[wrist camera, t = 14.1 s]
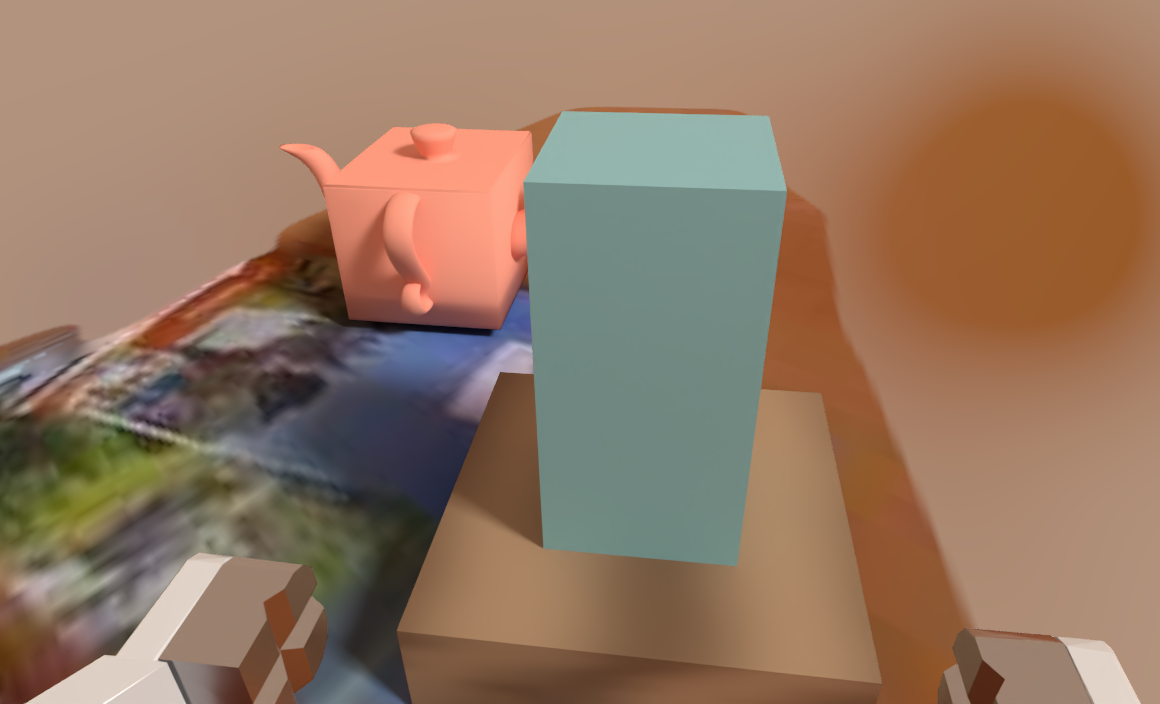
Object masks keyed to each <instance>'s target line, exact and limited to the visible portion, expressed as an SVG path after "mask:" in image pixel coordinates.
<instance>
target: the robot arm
mask: <svg viewBox="0 0 1160 704" xmlns="http://www.w3.org/2000/svg"><path fill="white" fill-rule="evenodd" d="M316 586H317V581H316V579H315V576H314V573H313V570H312V567H311V566H305V565H299V564H291V563H283V562H275V561H267V560H259V559H251V558H243V557H235V556H234V557H233V556H224V555H215V554H206V553H198V554H196V555H195V556H193V557H192V558H190V559H189V560H187V561H186V562H185V564H184V565H183V566H182V568H181V569H180V570H179V572H178V573H177V574H176V576H175V577H174V578H173V580H172V581H171V582H170V584H169V585H168V586H167V588H166V589H165V590H164V592H163V593H162V594H161V596H160V597H159V598H158V600H157V601H156V602H155V604H154V605H153V606H152V608H151V609H150V611H149V612H148V613H147V615H146V616H145V617H144V619H143V620H142V621H141V623H140V624H139V625H138V627H137V628H136V629H135V631H134V632H133V633H132V635H131V636H130V637H129V639H128V640H127V641H126V643H125V644H124V645H123V647H122V648H121V649H120V651H119V652H118V653H117V655H116V656H112V655H104V656H102V657H101V658H99V659H97V660H96V661H94V662H92V663H91V664H89V665H88V666H86V667H84V668H83V669H81V670H79V671H78V672H76V673H74V674H73V675H71V676H70V677H68V678H66V679H65V680H63V681H61V682H60V683H58V684H56V685H55V686H53V687H51V688H50V689H48V690H47V691H45V692H43V693H42V694H40V695H38V696H37V697H35V698H33V699H32V700H30V701H29V702H27V703H25V704H297V703H296V699H295V694H294V693H296V692H297V691H298V690H300V689H301V688H302V687H304V686H305V685H306V684H308V683H309V682H310V681H312V680H313V679H314V676H315V674H316V672H317V670H318V668H319V665H320V663H321V661H322V658H323V654H324V650H325V645H326V641H327V637H328V634H327V617H326V613H325V609H324V607H323V606H322V605H321V604H320V603H319V602H318V601H317V600H315V599H314V598H313V597H312V596H311V595H312V593H313V591H314V589H315V588H316ZM953 651H954V654H955V657H956V661H957V664H956V665H954V666H952V667H951V668H949V669H947V670H946V671H944V673H943V676H942V679H941V682H940V686H939V689H938V704H1141V703H1140V701H1139V700H1138V697H1137V696H1136V694H1135V692H1134V690H1133V688H1132V686H1131V684H1130V682H1129V680H1128V678H1127V676H1126V675H1125V673H1124V671H1123V669H1122V667H1121V665H1120V663H1119V661H1118V659H1117V657H1116V655H1115V653H1114V652H1113V650H1112V649H1111V648H1110V647H1109V646H1108V645H1107V644H1106V643H1105V642H1104V641H1097V640H1087V639H1076V638H1066V637H1052V636H1050V635H1041V634H1030V633H1018V632H1007V631H995V630H982V629H971V628H964V629H963V630H962V631H961V632H960V633H958V635H957V638H956V640H955V643H954V645H953Z"/></svg>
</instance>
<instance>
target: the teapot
mask: <svg viewBox="0 0 1160 704" xmlns="http://www.w3.org/2000/svg"><path fill="white" fill-rule="evenodd" d="M279 147H280V149H282V150H284V151H285V152H287V153H289V154H291V155H293V156H295V157H296V158H298V159H300V160H301V161H302V162H303V163H304V164H305V165H306V166H307V167H308V168H309V169H310V171H311V172H312V173H313V175H314V176H315V178H316V179H317V182H318V184H319V185H320V187H321V190H322V192H323V195H324V197H325V200H326V205H327V210H328V215H329V220H330V225H331V230H332V235H333V240H334V246H335V251H336V256H337V261H338V266H339V271H340V276H341V281H342V286H343V291H344V296H345V301H346V306H347V311H348V316H349V320H361V321H376V322H391V323H406V324H421V325H436V326H451V327H466V328H480V329H495V330H500V329H501V327H502V325H503V323H504V321H505V319H506V317H507V314H508V312H509V310H510V308H511V306H512V304H513V302H514V300H515V297H516V295H517V293H518V291H519V289H520V287H521V285H522V282H523V280H524V278H525V276H526V274H527V272H528V259H527V241H526V223H525V205H524V187H523V182H524V180H525V178H526V176H527V174H528V173H529V171H530V169H531V167H532V165H533V152H532V133H531V132H530V131H503V130H474V129H456V128H455V127H453V126H451V125H448V124H442V123H431V124H424V125H420V126H418V127H415V128H408V127H393V128H392V129H391V130H389V131H388V132H387V133H385V134H384V135H383V136H382V137H381V138H379V139H378V140H377V141H376V142H375V143H373V144H372V145H371V146H370V147H368V148H367V149H366V150H365V151H363V152H362V153H361V154H360V155H359V156H357V157H356V158H355V159H354V160H353V161H352V162H350V163H349V164H348V165H347V166H345V167H344V168H343V169H342V170H341V171H340V169H339V167H338V166H337V164H336V163H335V162H334V160H333V159H332V158H331V157H330V156H329V155H328V154H327V153H325V152H324V151H323V150H321V149H320V148H318V147H315V146H312V145H306V144H284V145H280V146H279Z"/></svg>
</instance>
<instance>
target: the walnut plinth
mask: <svg viewBox="0 0 1160 704" xmlns="http://www.w3.org/2000/svg"><path fill="white" fill-rule="evenodd" d="M397 636H398V641H399V645H400V650H401V655H402V659H403V664H404V669H405V673H406V678H407V683H408V687H409V692H410V697H411V702H412V704H876V702H877V699H878V696H879V693H880V690H881V686H882V680H881V675H880V671H879V666H878V661H877V656H876V652H875V647H874V642H873V637H872V633H871V628H870V623H869V618H868V614H867V609H866V604H865V599H864V595H863V590H862V585H861V580H860V576H859V571H858V566H857V561H856V557H855V552H854V547H853V542H852V538H851V533H850V528H849V523H848V519H847V514H846V509H845V504H844V500H843V495H842V490H841V485H840V481H839V476H838V471H837V467H836V462H835V457H834V452H833V448H832V443H831V438H830V433H829V429H828V424H827V419H826V414H825V410H824V405H823V400H822V395H821V393H809V392H794V391H779V390H764V389H761V390H760V397H759V405H758V412H757V420H756V427H755V435H754V443H753V450H752V458H751V465H750V473H749V480H748V488H747V495H746V503H745V510H744V518H743V525H742V533H741V540H740V548H739V555H738V563H737V566H728V565H718V564H707V563H696V562H685V561H674V560H663V559H652V558H641V557H630V556H619V555H608V554H597V553H586V552H575V551H564V550H553V549H543V532H542V514H541V496H540V477H539V459H538V441H537V423H536V405H535V387H534V374H520V373H505V372H500V374H499V376H498V379H497V381H496V384H495V386H494V389H493V391H492V394H491V396H490V399H489V401H488V404H487V406H486V409H485V411H484V414H483V416H482V419H481V421H480V424H479V426H478V429H477V431H476V434H475V436H474V439H473V441H472V444H471V446H470V449H469V451H468V454H467V456H466V459H465V461H464V464H463V466H462V469H461V471H460V474H459V476H458V479H457V481H456V484H455V486H454V489H453V491H452V494H451V496H450V499H449V501H448V504H447V506H446V509H445V511H444V514H443V516H442V519H441V521H440V524H439V526H438V529H437V531H436V534H435V536H434V539H433V541H432V543H431V546H430V548H429V551H428V553H427V556H426V558H425V561H424V563H423V566H422V568H421V571H420V573H419V576H418V578H417V581H416V583H415V586H414V588H413V591H412V593H411V596H410V598H409V601H408V603H407V606H406V608H405V611H404V613H403V616H402V618H401V621H400V623H399V626H398V628H397Z"/></svg>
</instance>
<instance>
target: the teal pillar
mask: <svg viewBox="0 0 1160 704" xmlns="http://www.w3.org/2000/svg"><path fill="white" fill-rule="evenodd" d="M523 187H524V205H525V223H526V241H527V259H528V277H529V296H530V314H531V332H532V350H533V368H534V387H535V405H536V423H537V441H538V459H539V477H540V496H541V514H542V532H543V549H553V550H564V551H575V552H586V553H597V554H608V555H619V556H630V557H641V558H652V559H663V560H674V561H685V562H696V563H707V564H718V565H728V566H737V563H738V555H739V548H740V540H741V533H742V525H743V518H744V510H745V503H746V495H747V488H748V480H749V473H750V465H751V458H752V450H753V443H754V435H755V427H756V420H757V412H758V405H759V397H760V390H761V382H762V375H763V367H764V360H765V352H766V345H767V337H768V330H769V322H770V315H771V307H772V300H773V292H774V285H775V277H776V270H777V262H778V255H779V247H780V240H781V232H782V225H783V217H784V210H785V202H786V195H787V189H786V185H785V181H784V177H783V173H782V169H781V165H780V160H779V157H778V153H777V148H776V144H775V140H774V136H773V131H772V127H771V124H770V119H769V116H746V115H702V114H658V113H615V112H571V111H562V113H561V115H560V117H559V119H558V120H557V122H556V124H555V126H554V128H553V129H552V131H551V133H550V135H549V137H548V138H547V140H546V142H545V144H544V146H543V147H542V149H541V151H540V153H539V155H538V156H537V158H536V160H535V162H534V164H533V165H532V167H531V169H530V171H529V173H528V174H527V176H526V178H525V180H524V182H523Z"/></svg>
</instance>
